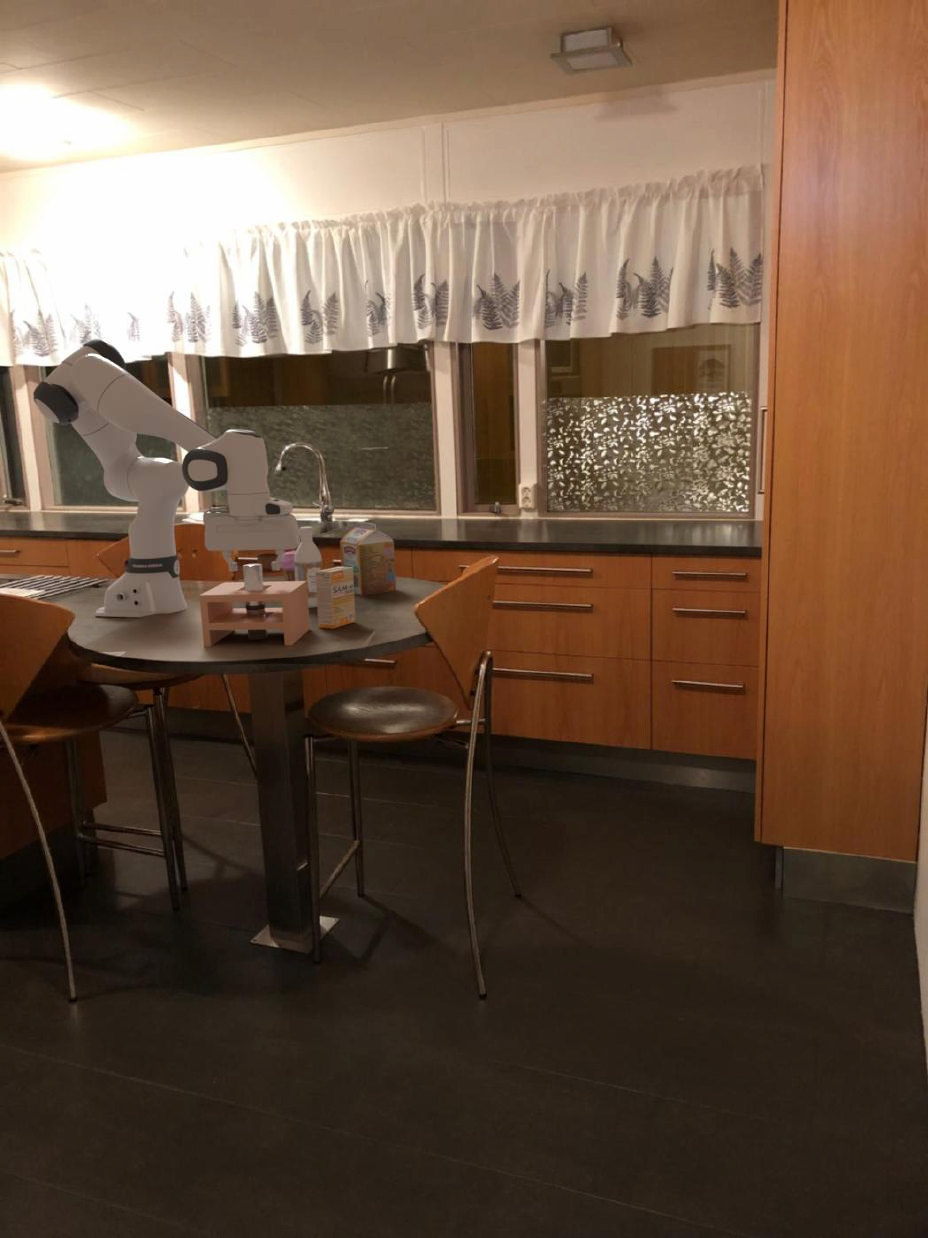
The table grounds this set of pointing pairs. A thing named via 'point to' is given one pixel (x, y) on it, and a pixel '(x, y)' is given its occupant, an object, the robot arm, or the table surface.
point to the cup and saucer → (267, 562)
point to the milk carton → (369, 559)
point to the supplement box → (335, 597)
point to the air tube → (256, 609)
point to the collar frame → (226, 619)
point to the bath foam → (308, 564)
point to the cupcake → (288, 566)
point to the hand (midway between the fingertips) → (254, 570)
